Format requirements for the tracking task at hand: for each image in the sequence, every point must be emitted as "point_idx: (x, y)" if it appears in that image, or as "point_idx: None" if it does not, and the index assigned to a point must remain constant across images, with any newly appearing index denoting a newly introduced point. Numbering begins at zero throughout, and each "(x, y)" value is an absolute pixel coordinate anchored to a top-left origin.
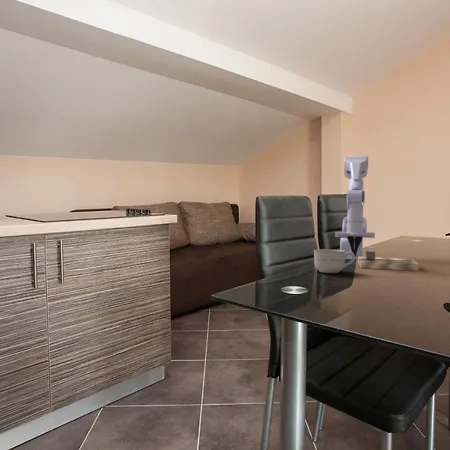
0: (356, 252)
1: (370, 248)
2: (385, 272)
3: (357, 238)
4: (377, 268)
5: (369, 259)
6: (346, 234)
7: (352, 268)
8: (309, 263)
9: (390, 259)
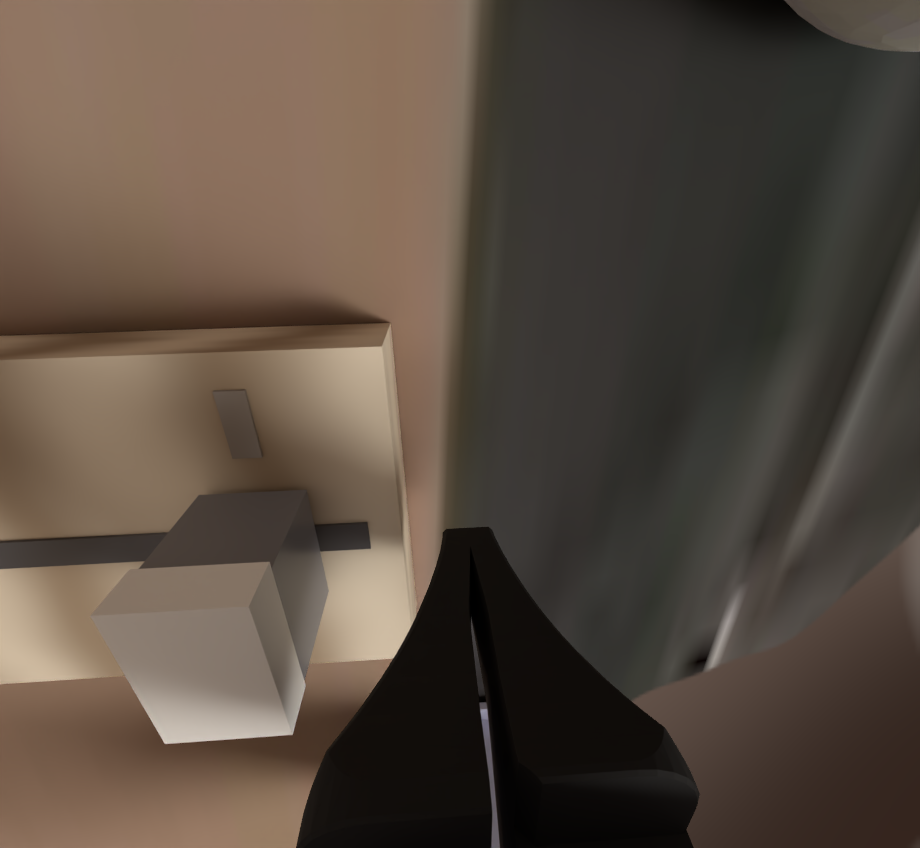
0: (440, 560)
1: (186, 616)
2: (22, 58)
3: (433, 835)
4: (187, 331)
5: None
6: None
7: (488, 275)
8: (903, 454)
9: (45, 595)
